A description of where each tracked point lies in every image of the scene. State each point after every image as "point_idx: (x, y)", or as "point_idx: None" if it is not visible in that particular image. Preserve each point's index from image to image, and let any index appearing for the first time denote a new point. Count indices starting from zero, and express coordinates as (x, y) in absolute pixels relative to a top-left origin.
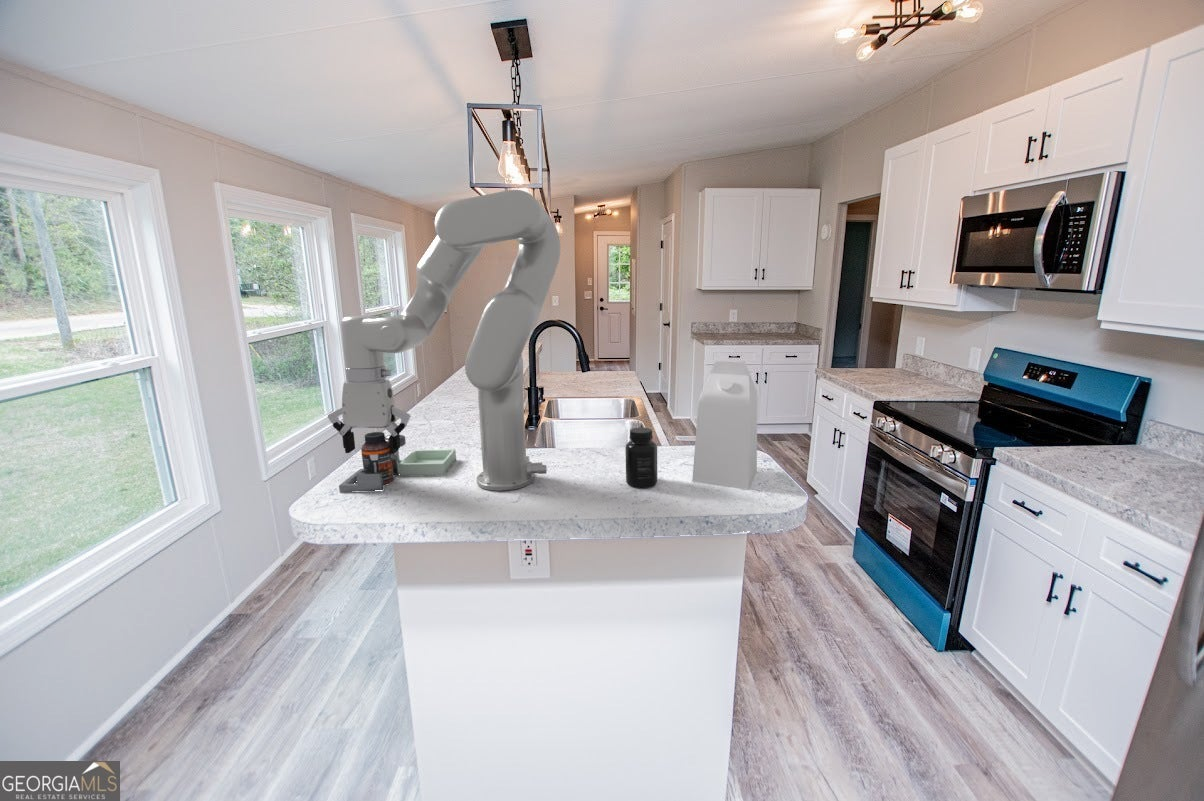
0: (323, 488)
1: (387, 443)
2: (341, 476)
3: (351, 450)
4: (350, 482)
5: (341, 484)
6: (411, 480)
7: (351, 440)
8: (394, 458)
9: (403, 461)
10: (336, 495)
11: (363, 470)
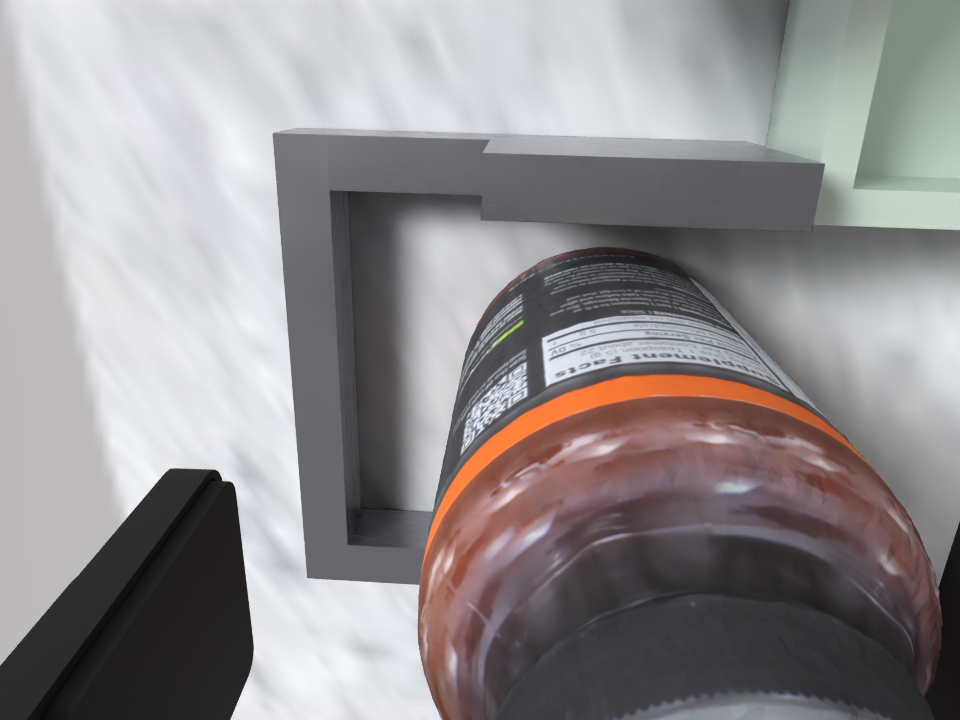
0: (129, 446)
1: (925, 682)
2: (98, 151)
3: (243, 598)
4: (349, 459)
5: (317, 557)
6: (907, 335)
7: (163, 705)
8: (772, 185)
9: (857, 96)
10: (331, 588)
11: (338, 189)
